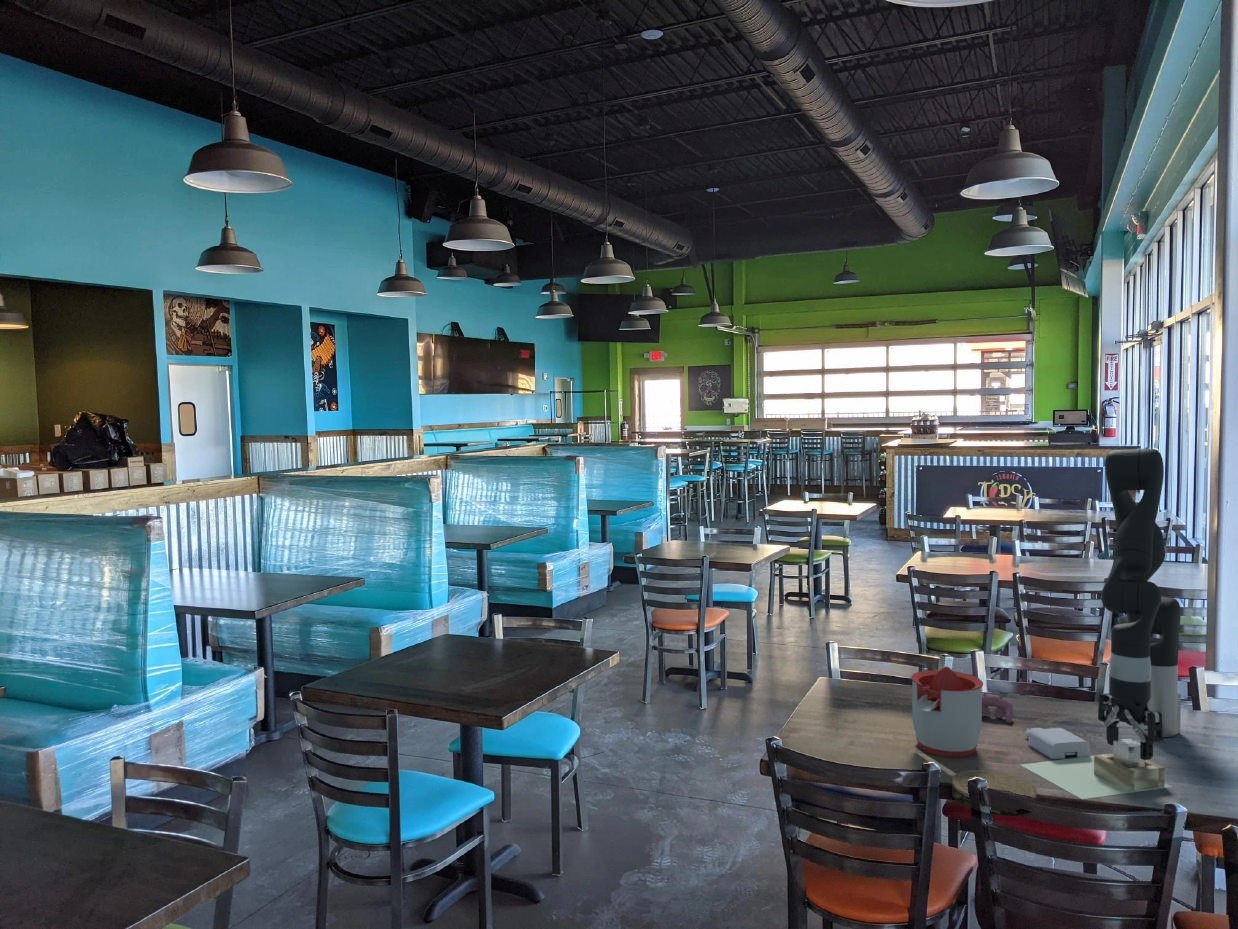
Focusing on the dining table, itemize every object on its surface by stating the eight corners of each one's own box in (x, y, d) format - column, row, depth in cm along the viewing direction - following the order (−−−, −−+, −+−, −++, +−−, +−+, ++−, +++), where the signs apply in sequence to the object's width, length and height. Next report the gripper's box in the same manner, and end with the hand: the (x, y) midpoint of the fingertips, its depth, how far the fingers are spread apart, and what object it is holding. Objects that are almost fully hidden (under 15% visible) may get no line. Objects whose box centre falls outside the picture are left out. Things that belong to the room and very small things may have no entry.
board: (1104, 758, 195) (1104, 754, 195) (1172, 791, 177) (1172, 786, 177) (1020, 769, 189) (1020, 764, 189) (1081, 804, 172) (1082, 799, 172)
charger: (1047, 737, 209) (1089, 761, 194) (1012, 740, 207) (1052, 764, 192) (1047, 718, 208) (1090, 741, 193) (1012, 720, 207) (1052, 743, 192)
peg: (1129, 775, 183) (1129, 738, 182) (1144, 783, 179) (1144, 745, 179) (1113, 777, 182) (1113, 740, 182) (1128, 785, 178) (1128, 747, 178)
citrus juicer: (892, 751, 201) (892, 666, 200) (935, 734, 211) (935, 653, 210) (954, 772, 188) (954, 682, 187) (996, 753, 199) (996, 667, 198)
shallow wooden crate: (1128, 769, 186) (1129, 751, 186) (1164, 786, 177) (1164, 767, 177) (1093, 774, 184) (1094, 755, 184) (1128, 791, 175) (1128, 772, 175)
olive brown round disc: (934, 792, 179) (934, 778, 179) (990, 778, 186) (990, 764, 186) (997, 824, 165) (997, 809, 165) (1055, 807, 171) (1055, 792, 171)
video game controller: (1013, 726, 220) (1014, 698, 223) (1011, 723, 217) (1012, 695, 219) (971, 720, 225) (973, 693, 228) (969, 717, 222) (971, 689, 224)
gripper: (1174, 683, 173) (1172, 762, 174) (1117, 664, 187) (1116, 738, 188) (1143, 686, 172) (1142, 766, 172) (1088, 667, 185) (1087, 741, 186)
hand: (1128, 751), depth 180 cm, fingers open, 8 cm apart
